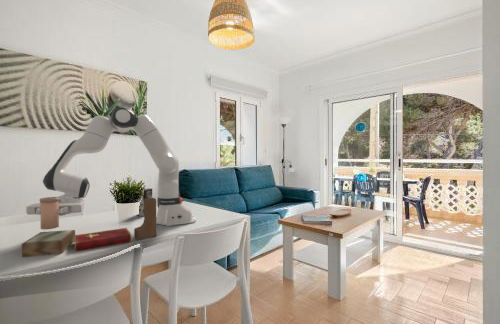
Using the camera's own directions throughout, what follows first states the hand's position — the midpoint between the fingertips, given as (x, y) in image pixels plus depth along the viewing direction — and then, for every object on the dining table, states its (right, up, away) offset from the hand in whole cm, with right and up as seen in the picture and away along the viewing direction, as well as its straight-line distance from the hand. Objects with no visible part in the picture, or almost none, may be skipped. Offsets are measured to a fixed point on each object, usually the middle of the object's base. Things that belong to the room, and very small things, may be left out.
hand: (48, 212), depth 107 cm
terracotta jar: (0, -6, +1) cm, 7 cm away
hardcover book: (+17, -16, +9) cm, 25 cm away
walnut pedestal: (0, -15, +1) cm, 15 cm away
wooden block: (+33, -15, +16) cm, 40 cm away
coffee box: (+14, -13, +61) cm, 64 cm away
